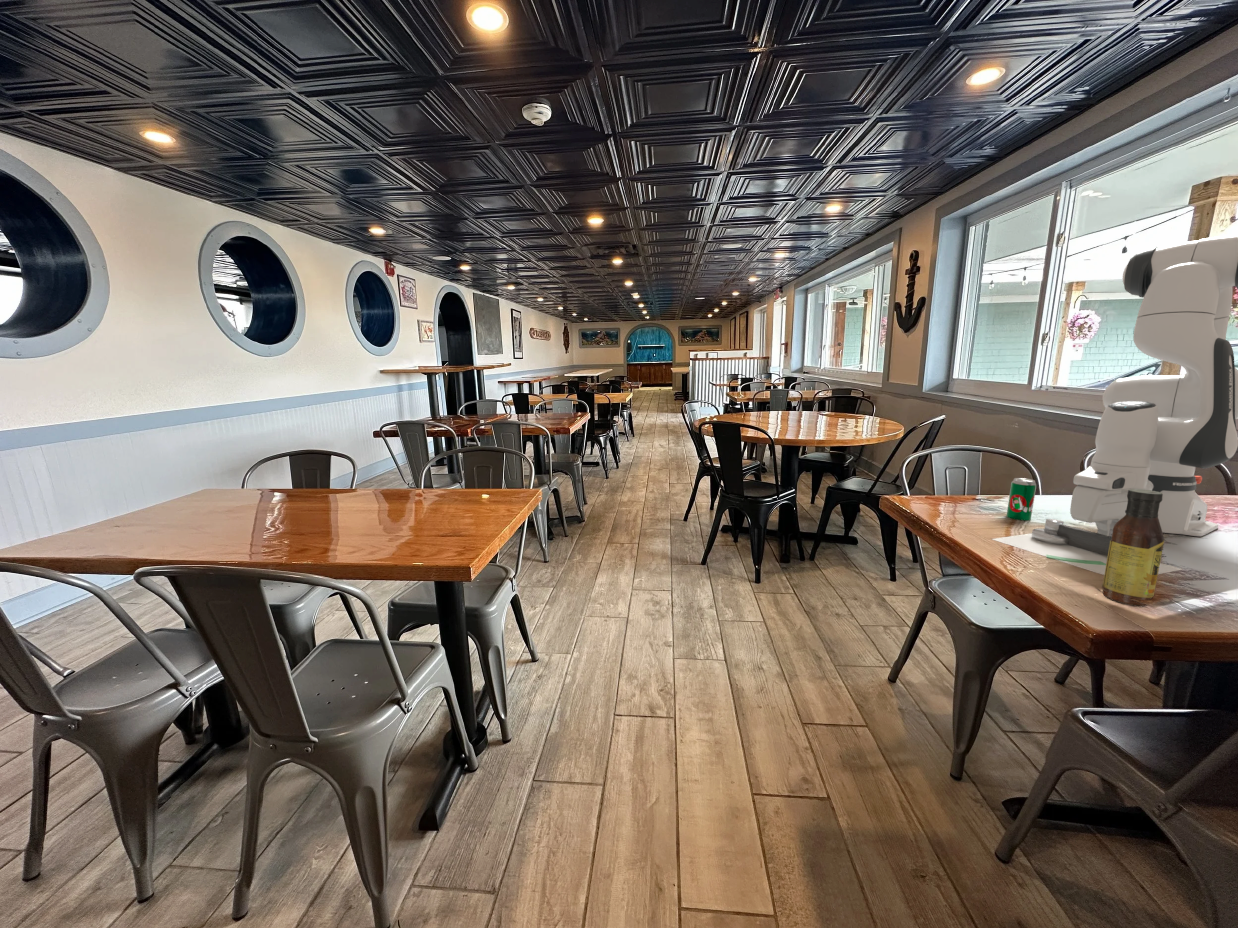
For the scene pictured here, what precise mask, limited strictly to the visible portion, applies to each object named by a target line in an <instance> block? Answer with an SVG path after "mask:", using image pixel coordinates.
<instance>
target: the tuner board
mask: <svg viewBox="0 0 1238 928" xmlns="http://www.w3.org/2000/svg"><path fill="white" fill-rule="evenodd" d="M991 540H992V541H996V542H999V543H1002V544H1004V545H1008V546H1011V547H1015V548H1018V549H1019V550H1020V549H1021V550H1024V551H1025V552H1026V551H1027V552H1030V553H1033V554H1036V555H1038V556H1039V555H1040V556H1043V557H1046V558H1047V559H1050V560H1051V559H1052V560H1055V561H1059V562H1061V563H1064V564H1068V565H1071V566H1074V567H1077V568H1080V569H1084V570H1087V571H1090V572H1093V573H1096V574H1100V575H1102V576H1104V574H1105V569H1106V563H1107V557H1108V556H1105V555H1101V554H1098V553H1094V552H1091V551H1087V550H1084V549H1080V548H1077V547H1073V546H1070V545H1059V544H1052V543H1047V542H1042V541H1039V540H1036V539H1034V538H1033V537H1032V532H1031V533H1030V532H1029V533H1026V534H1025V533H1024V534H1018V535H1017V534H1015V535H1011V536H1003V537H996V538H991ZM1182 570H1184V569H1183V568H1180V567H1176V566H1173V565H1170V564H1165V563H1161V562H1160V566H1159V571H1158V575H1163V574H1166V573H1171V572H1177V571H1182Z"/></svg>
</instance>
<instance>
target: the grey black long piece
mask: <svg viewBox="0 0 1238 928" xmlns="http://www.w3.org/2000/svg"><path fill="white" fill-rule="evenodd" d="M1031 533H1032V537H1033V538H1034V539H1036V540H1039V541H1042V542H1047V543H1052V544H1059V545H1070V546H1073V547H1077V548H1080V549H1084V550H1087V551H1091V552H1094V553H1098V554H1101V555H1105V556H1108V551H1109V545H1110V540H1111V539H1112V537H1111V536H1107V535H1103V534H1099V533H1097V532H1095V531H1091V530H1087V529H1083V528H1079V527H1074V526H1071V525H1068V524H1064V521H1062V520H1059V519H1055V518H1046V519H1045V522H1044V527H1043V528H1041V527H1040V528H1039V527H1038V528H1034V529H1032V532H1031Z"/></svg>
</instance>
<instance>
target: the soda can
mask: <svg viewBox="0 0 1238 928" xmlns="http://www.w3.org/2000/svg"><path fill="white" fill-rule="evenodd" d="M1036 489H1037V483H1036V480H1034V479H1031V478H1025V477H1024V478H1023V477H1014V478H1013V480H1012V481H1011V483H1010V490H1009V496H1008V497H1009V498H1008V503H1007V510H1006V516H1005V517H1007V518H1008V519H1012V520H1015V521H1023V522H1025V521H1031V520H1032V514H1033V510H1034V509H1033V507H1034V503H1035V502H1034V501H1035V496H1036Z"/></svg>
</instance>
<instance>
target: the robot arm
mask: <svg viewBox="0 0 1238 928" xmlns="http://www.w3.org/2000/svg"><path fill="white" fill-rule="evenodd" d="M1122 283H1123V284H1122V285H1123V287H1124V291H1126V292H1127V293H1129V294H1130V295H1131V296H1138V298H1142V301H1141V304H1140V307H1139V310H1138V313H1137V317H1136V321H1135V324H1134V325H1135V326H1134V329H1133V343H1134V345H1135V347H1136V348H1137V349H1138V350H1139V351H1140V352H1141V353H1143V354H1144V355H1146V356H1149V357H1151V358H1152V359H1156V360H1160V361H1164V362H1167V363H1171V364H1175V365H1179V366H1181V367H1182V368H1183V369H1184V370H1185V371H1186V373H1184V374H1179V375H1178V374H1174V375H1173V374H1171V375H1170V374H1169V375H1166V374H1165V375H1163V374H1162V375H1161V374H1159V375H1157V374H1156V375H1154V374H1152V375H1149V374H1148V375H1146V374H1145V375H1144V374H1143V375H1135V376H1128V377H1120V378H1116V379H1115V380H1114V381H1112V382H1111V383H1110V384H1108V386H1107V387H1106V388H1105V390H1104V392H1103V394H1102V404H1103V407H1104V408H1105V409H1104V411H1103V412H1102V415H1101V417H1100V421H1099V424H1098V427H1097V431H1096V434H1095V440H1094V444H1095V453H1094V455H1093V457H1091V462H1090V465H1089V466H1088V467H1087V468H1085V469H1084V470H1082V471H1080V472H1078V473H1076V474H1075V475H1074V477H1073V484H1074V485H1077V486H1075V488H1073V491H1072V496H1071V502H1070V509H1069V510H1070V512H1069V513H1070V515H1071V516H1070V517H1071V518H1072V519H1073V520H1075V521H1080V522H1083V523H1090V524H1091V523H1095V526H1096V529H1097V532H1096V533H1099V534H1103V535H1107V536H1111V537H1112V534H1113V528H1114V525H1115V524H1116V523H1117V522H1118V521H1119V520H1120V519H1122V518H1123V517H1124V516H1125V515H1126V513H1125V510H1126V509H1127V503H1128V498H1127V494H1128V490H1129V489H1142V490H1151V491H1156V492H1161V493H1162V494H1163V497H1162V501H1161V502H1160V504H1159V511H1158V519H1159V522H1160V526H1161V529H1162V533H1163V534H1165V533H1166V534H1177V535H1186V536H1194V537H1203V536H1205V535H1207V534H1210V533H1211V532H1213V531H1215V530H1217V529H1218V528H1219V523H1215V522H1212V521H1208V520H1206V517H1207V513H1208V504H1207V503H1206V502H1205V501H1204V500H1203V499H1202V498H1201V497H1200V496H1199V494H1197V493H1196V491H1195V490H1197V485H1200V484H1201V483H1202V482H1203V476H1202V475H1195V471H1196V468H1199V469H1203V470H1205V469H1209V468H1213V467H1216V466H1219V465H1222V464H1224V463H1226V462H1227V461H1228V462H1229V461H1230V460H1232V458H1233V457H1234V455H1235V454H1236V452H1237V449H1238V433H1237V432H1238V431H1237V422H1236V420H1238V369H1237V368H1236V365H1235V355H1234V349H1233V347H1232V344H1231V343H1230V341H1229V340H1227V332H1228V324H1229V321H1230V315H1231V311H1232V303H1233V290H1234V289H1233V287H1234V288H1236V289H1237V290H1238V235H1225V236H1224V235H1222V236H1214V237H1213V236H1212V237H1206V238H1205V237H1204V238H1200V239H1199V240H1191V241H1186V242H1181V243H1180V242H1179V243H1176V244H1171V245H1166V246H1162V247H1157V246H1155V247H1151V248H1148V249H1145V250H1140V251H1139V252H1137V253H1136V254H1135V255H1133V256H1132V257H1130V259H1129V261H1128V263H1127V264H1126V266H1125V268H1124V271H1123V273H1122Z"/></svg>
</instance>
